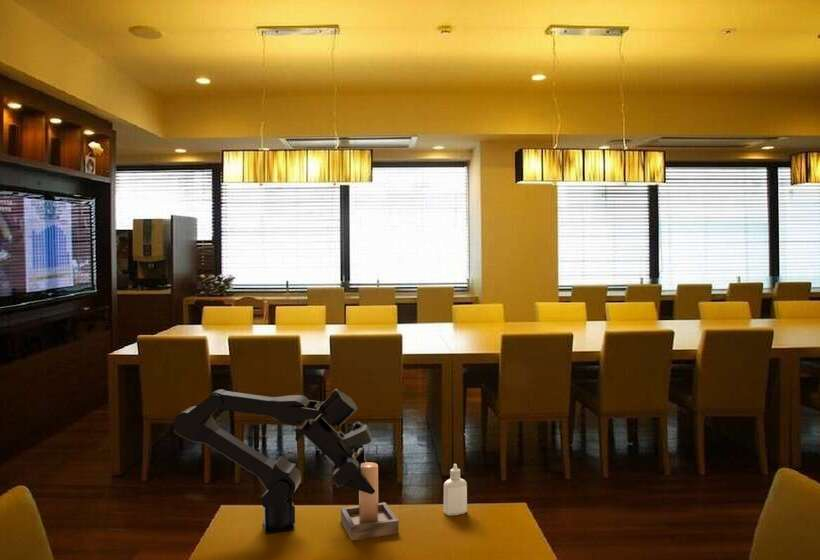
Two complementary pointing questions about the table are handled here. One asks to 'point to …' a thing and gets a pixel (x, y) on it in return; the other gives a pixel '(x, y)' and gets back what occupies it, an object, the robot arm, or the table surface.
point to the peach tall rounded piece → (369, 495)
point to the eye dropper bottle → (455, 494)
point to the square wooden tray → (368, 530)
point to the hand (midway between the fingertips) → (374, 486)
